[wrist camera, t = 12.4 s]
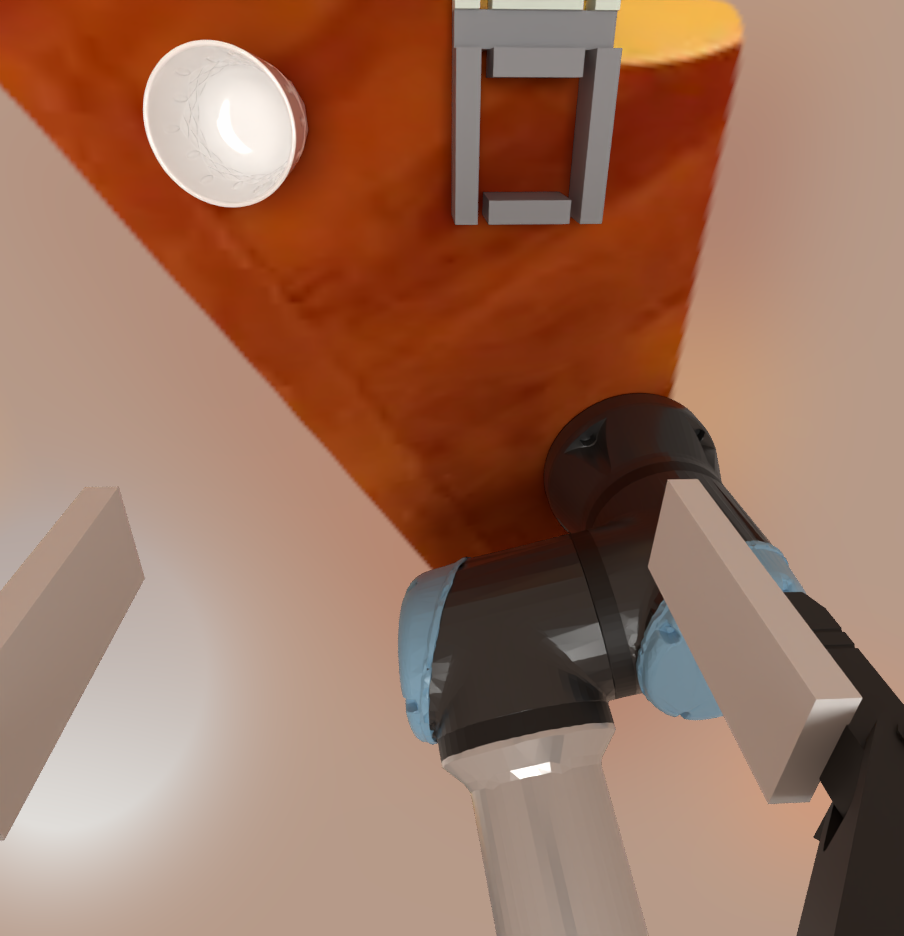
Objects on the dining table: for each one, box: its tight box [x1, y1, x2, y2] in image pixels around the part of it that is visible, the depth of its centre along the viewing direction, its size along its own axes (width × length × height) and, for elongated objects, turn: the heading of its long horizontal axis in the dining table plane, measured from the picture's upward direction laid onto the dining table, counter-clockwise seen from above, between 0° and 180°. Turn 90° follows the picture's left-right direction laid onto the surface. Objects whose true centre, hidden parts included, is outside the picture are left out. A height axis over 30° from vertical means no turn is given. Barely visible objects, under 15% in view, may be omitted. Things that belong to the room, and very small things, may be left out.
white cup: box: [143, 40, 308, 207], centre depth 38 cm, size 8×8×10 cm
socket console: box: [452, 0, 622, 225], centre depth 39 cm, size 22×10×4 cm, turn 0°
